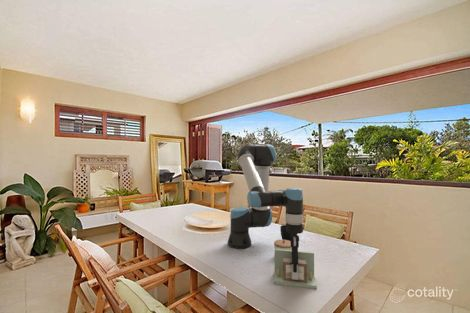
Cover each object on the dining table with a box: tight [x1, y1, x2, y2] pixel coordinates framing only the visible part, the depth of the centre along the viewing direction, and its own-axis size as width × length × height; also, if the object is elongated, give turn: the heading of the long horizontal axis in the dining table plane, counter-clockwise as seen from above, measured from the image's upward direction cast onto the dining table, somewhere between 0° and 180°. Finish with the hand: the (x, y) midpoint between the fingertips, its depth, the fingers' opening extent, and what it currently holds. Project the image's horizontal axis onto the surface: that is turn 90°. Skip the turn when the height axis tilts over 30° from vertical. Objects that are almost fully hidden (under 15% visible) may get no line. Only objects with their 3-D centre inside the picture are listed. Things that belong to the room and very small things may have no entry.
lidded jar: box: [273, 239, 292, 250], centre depth 128 cm, size 11×11×9 cm
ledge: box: [273, 248, 318, 290], centre depth 103 cm, size 18×11×11 cm, turn 77°
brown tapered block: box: [283, 258, 307, 283], centre depth 101 cm, size 10×4×8 cm, turn 77°
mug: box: [279, 224, 291, 241], centre depth 152 cm, size 8×12×10 cm
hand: (294, 276), depth 101 cm, fingers open, 5 cm apart
